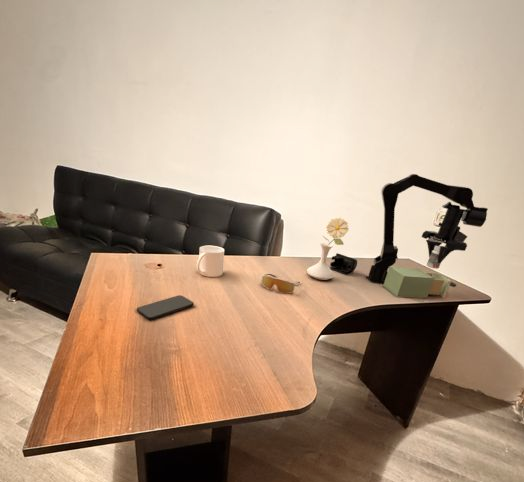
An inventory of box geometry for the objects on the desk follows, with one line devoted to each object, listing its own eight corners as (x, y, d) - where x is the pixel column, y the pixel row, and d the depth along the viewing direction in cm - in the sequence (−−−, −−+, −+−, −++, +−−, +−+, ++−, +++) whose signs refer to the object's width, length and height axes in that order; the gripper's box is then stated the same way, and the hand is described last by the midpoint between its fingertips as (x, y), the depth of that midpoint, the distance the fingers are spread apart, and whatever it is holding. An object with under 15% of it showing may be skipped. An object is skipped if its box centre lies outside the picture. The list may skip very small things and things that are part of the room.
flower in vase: (300, 275, 127) (313, 213, 115) (315, 270, 135) (327, 212, 123) (327, 285, 120) (343, 221, 108) (341, 280, 128) (357, 219, 116)
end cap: (354, 272, 139) (359, 258, 136) (347, 275, 134) (351, 260, 131) (336, 266, 145) (339, 252, 142) (328, 268, 140) (331, 254, 137)
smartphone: (134, 307, 83) (180, 294, 94) (135, 310, 84) (180, 297, 94) (149, 318, 79) (195, 303, 90) (149, 321, 80) (195, 305, 90)
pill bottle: (434, 269, 122) (442, 248, 118) (423, 265, 126) (431, 245, 122) (441, 268, 125) (449, 248, 121) (430, 264, 128) (438, 245, 124)
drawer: (439, 287, 133) (445, 273, 130) (454, 296, 125) (461, 281, 122) (404, 285, 129) (410, 270, 126) (417, 295, 121) (424, 279, 118)
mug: (212, 267, 122) (214, 244, 117) (227, 274, 117) (229, 251, 112) (187, 272, 114) (187, 247, 109) (202, 280, 109) (202, 255, 104)
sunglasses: (255, 286, 109) (257, 273, 107) (269, 280, 123) (271, 268, 121) (292, 297, 105) (295, 283, 104) (302, 289, 119) (305, 276, 117)
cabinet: (411, 287, 131) (418, 268, 127) (426, 298, 122) (435, 278, 118) (383, 285, 128) (389, 266, 124) (396, 296, 119) (404, 276, 115)
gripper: (487, 229, 110) (468, 270, 118) (450, 219, 126) (436, 255, 134) (462, 227, 108) (444, 268, 115) (428, 216, 124) (414, 253, 131)
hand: (434, 261), depth 124 cm, fingers closed on pill bottle, 5 cm apart
